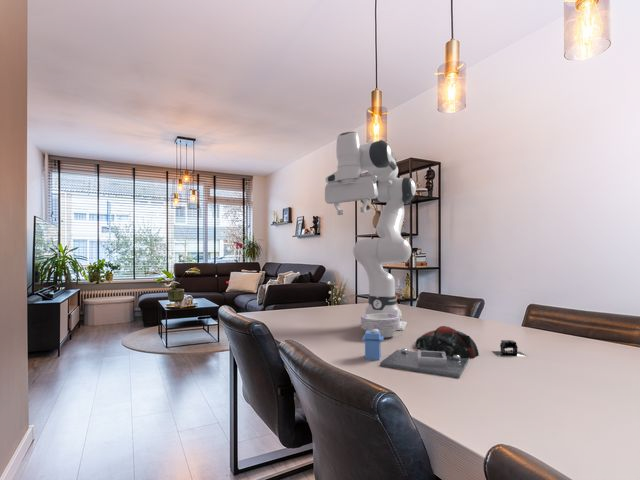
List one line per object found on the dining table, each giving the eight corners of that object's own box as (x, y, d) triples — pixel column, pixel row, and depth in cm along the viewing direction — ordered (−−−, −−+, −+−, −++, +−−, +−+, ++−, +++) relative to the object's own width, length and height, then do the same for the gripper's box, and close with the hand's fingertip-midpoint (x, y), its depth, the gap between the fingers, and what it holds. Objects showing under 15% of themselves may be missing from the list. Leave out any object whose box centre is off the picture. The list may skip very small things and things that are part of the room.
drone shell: (483, 360, 115) (482, 334, 115) (417, 357, 119) (417, 332, 119) (470, 343, 136) (469, 321, 136) (414, 341, 140) (414, 320, 140)
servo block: (363, 355, 121) (363, 327, 121) (383, 356, 119) (383, 328, 120) (361, 359, 117) (361, 330, 117) (382, 360, 115) (382, 331, 116)
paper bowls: (355, 333, 154) (355, 313, 154) (388, 330, 158) (388, 311, 158) (371, 341, 139) (370, 320, 139) (407, 338, 144) (407, 317, 144)
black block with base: (492, 358, 119) (492, 343, 119) (485, 351, 126) (484, 338, 126) (534, 359, 117) (533, 344, 117) (523, 352, 125) (523, 338, 125)
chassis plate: (397, 352, 124) (397, 343, 124) (468, 362, 113) (468, 351, 113) (380, 365, 110) (380, 355, 110) (459, 377, 99) (459, 366, 99)
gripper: (379, 172, 134) (381, 211, 134) (330, 181, 145) (332, 216, 144) (372, 170, 129) (374, 210, 128) (321, 178, 139) (323, 215, 139)
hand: (351, 213), depth 136 cm, fingers open, 8 cm apart
